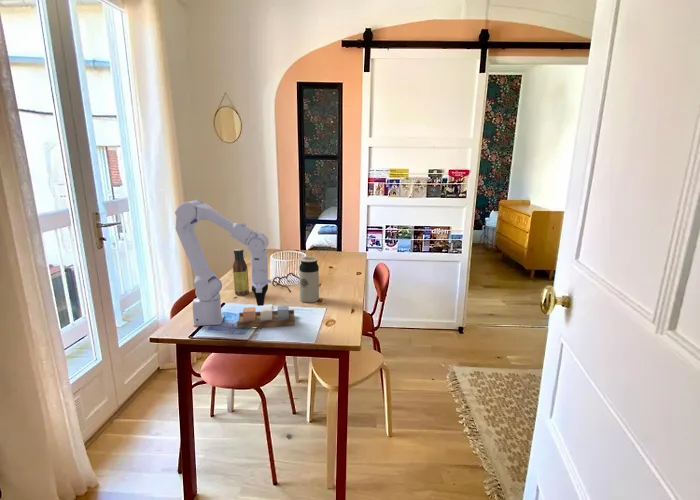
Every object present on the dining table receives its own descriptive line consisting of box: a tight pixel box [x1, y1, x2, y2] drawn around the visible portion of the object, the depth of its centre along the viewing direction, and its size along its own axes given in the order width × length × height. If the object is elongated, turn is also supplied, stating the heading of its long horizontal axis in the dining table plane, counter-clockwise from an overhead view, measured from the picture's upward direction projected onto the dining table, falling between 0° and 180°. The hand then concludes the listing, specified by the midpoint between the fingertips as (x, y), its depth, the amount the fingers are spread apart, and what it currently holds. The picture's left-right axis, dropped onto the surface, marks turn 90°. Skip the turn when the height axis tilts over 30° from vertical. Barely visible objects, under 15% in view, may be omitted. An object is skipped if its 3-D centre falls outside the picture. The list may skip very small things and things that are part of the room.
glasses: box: [271, 272, 300, 293], centre depth 183 cm, size 13×13×5 cm
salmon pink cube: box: [242, 306, 257, 321], centre depth 141 cm, size 4×4×4 cm
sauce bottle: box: [232, 248, 250, 296], centre depth 170 cm, size 6×6×20 cm
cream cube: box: [259, 306, 273, 320], centre depth 142 cm, size 4×4×4 cm
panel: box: [236, 309, 296, 330], centre depth 143 cm, size 20×9×2 cm, turn 100°
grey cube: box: [276, 305, 290, 319], centre depth 143 cm, size 4×4×4 cm
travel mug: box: [298, 256, 320, 304], centre depth 164 cm, size 8×8×18 cm
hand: (260, 305), depth 141 cm, fingers closed
